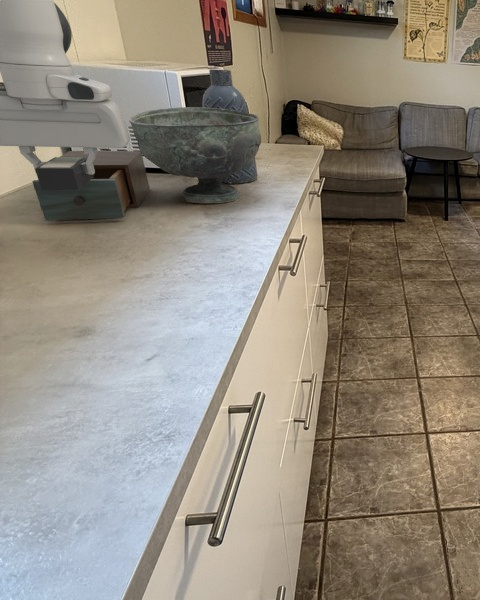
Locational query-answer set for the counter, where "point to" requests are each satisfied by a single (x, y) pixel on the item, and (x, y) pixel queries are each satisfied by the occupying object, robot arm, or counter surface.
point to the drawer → (88, 198)
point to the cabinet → (132, 169)
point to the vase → (230, 99)
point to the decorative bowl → (199, 146)
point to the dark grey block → (62, 174)
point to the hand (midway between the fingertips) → (66, 173)
